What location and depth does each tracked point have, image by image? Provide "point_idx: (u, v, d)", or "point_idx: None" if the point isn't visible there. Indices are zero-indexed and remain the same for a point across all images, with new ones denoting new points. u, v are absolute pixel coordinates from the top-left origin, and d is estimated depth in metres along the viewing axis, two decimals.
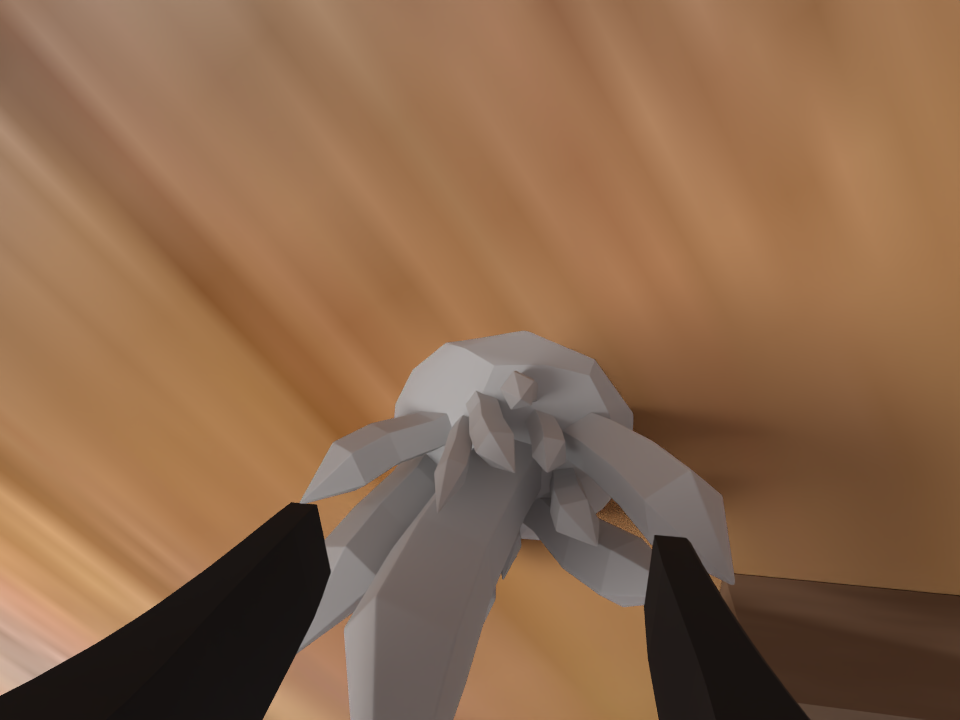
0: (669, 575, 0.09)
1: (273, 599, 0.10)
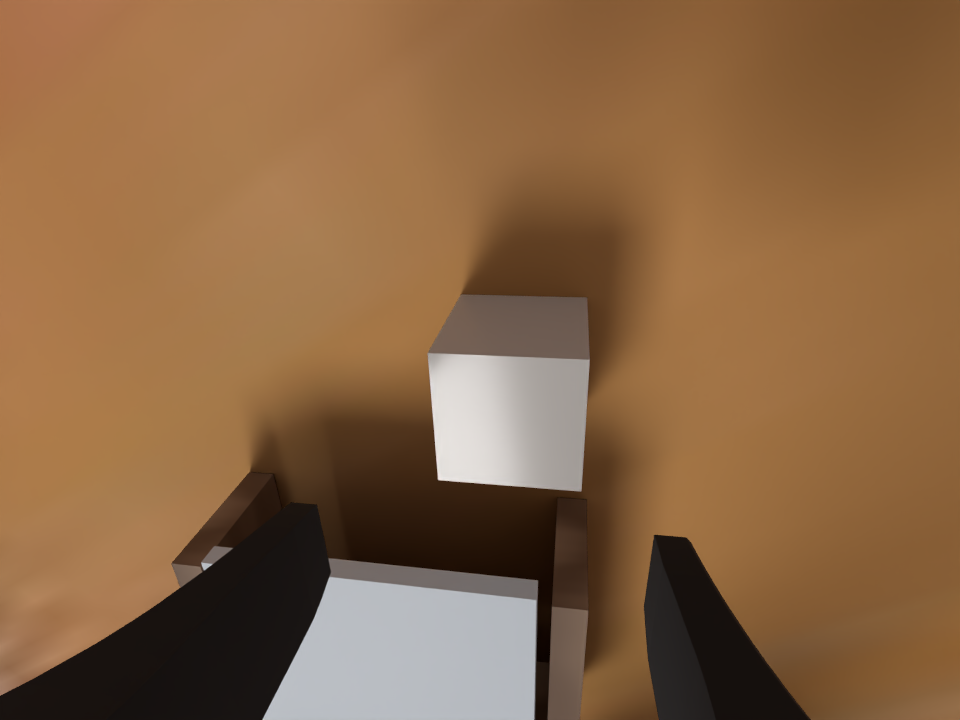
0: (669, 575, 0.09)
1: (273, 599, 0.10)
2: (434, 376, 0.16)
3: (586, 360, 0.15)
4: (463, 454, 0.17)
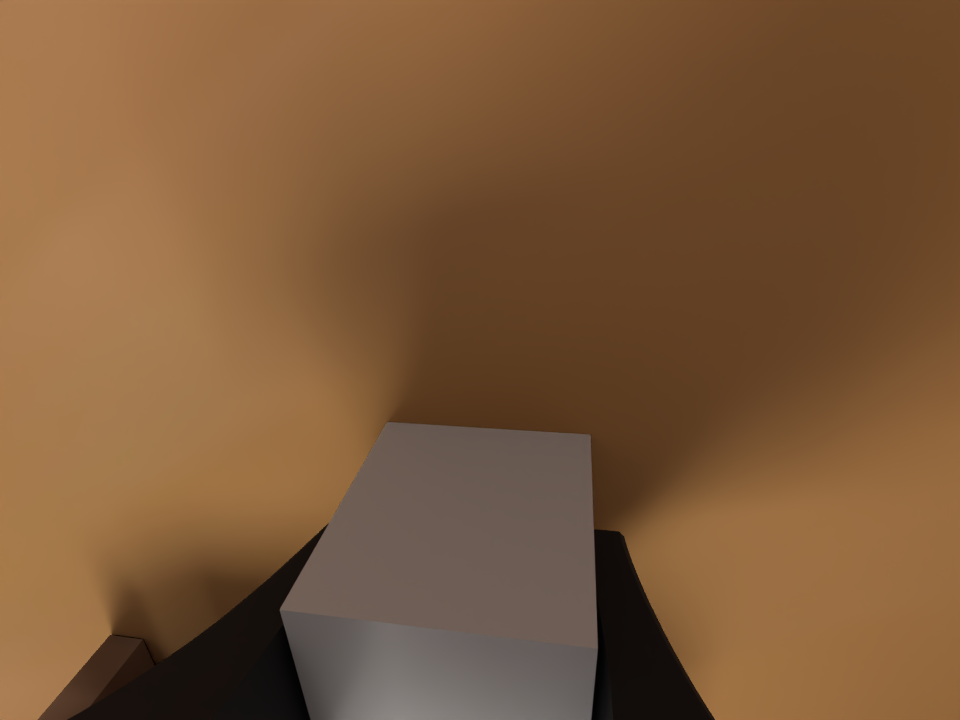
0: None
1: None
2: (297, 646, 0.08)
3: (591, 649, 0.07)
4: None
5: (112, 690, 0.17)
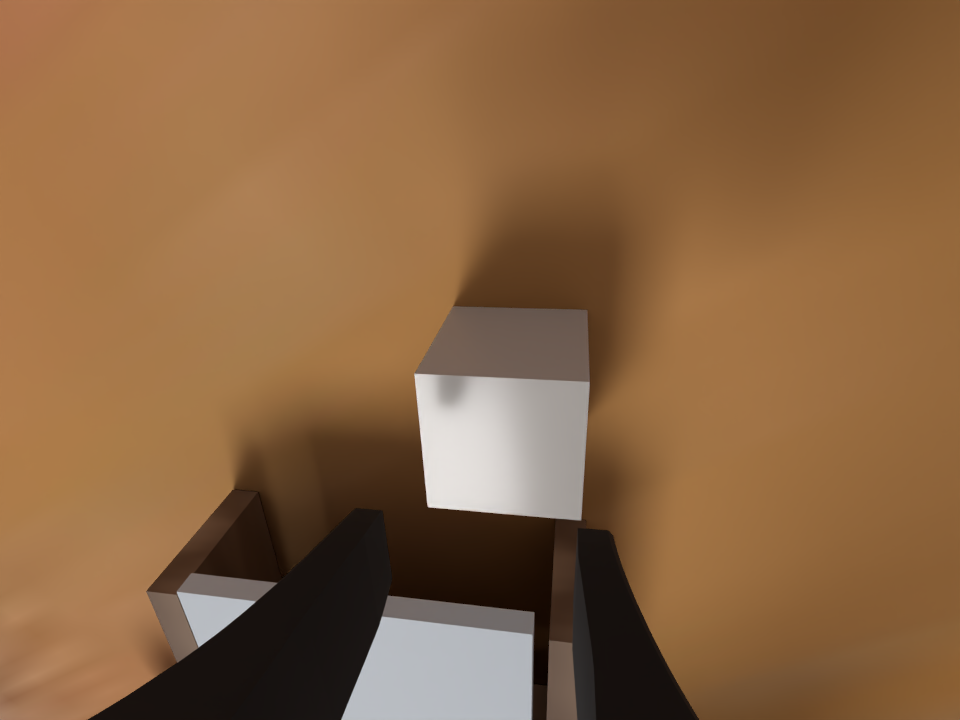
0: (582, 566, 0.10)
1: (347, 608, 0.10)
2: (422, 398, 0.15)
3: (586, 382, 0.14)
4: (454, 480, 0.16)
5: (241, 521, 0.23)
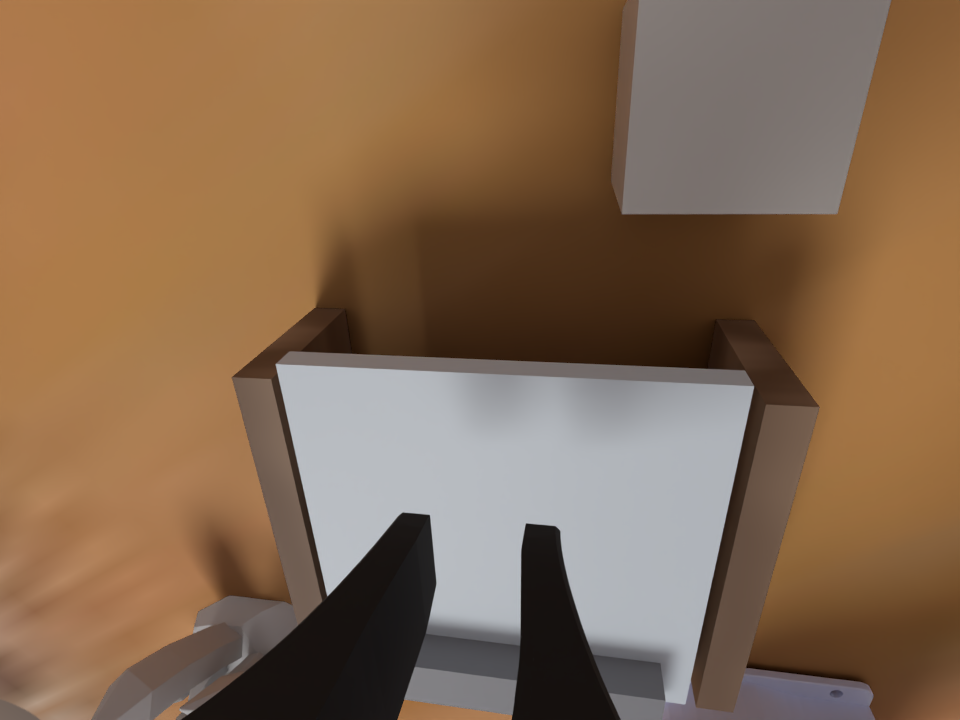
0: (523, 561, 0.10)
1: (401, 614, 0.10)
2: (645, 20, 0.11)
3: None
4: (667, 164, 0.12)
5: (330, 333, 0.19)
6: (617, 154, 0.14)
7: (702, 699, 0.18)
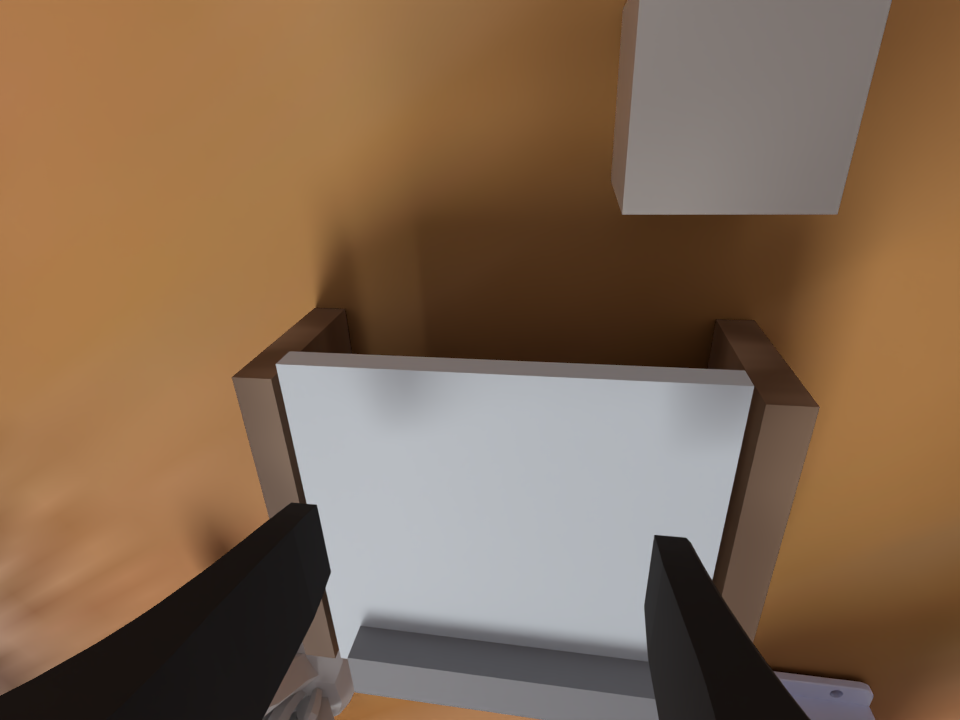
0: (669, 575, 0.09)
1: (273, 599, 0.10)
2: (645, 20, 0.11)
3: None
4: (667, 164, 0.12)
5: (330, 333, 0.19)
6: (617, 154, 0.14)
7: None
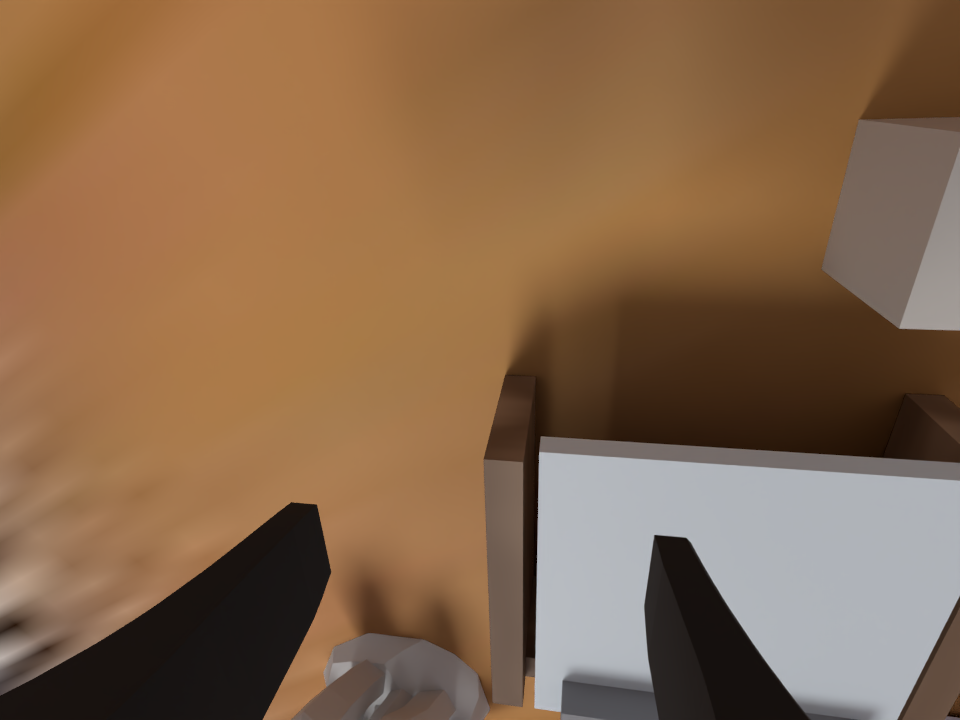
0: (669, 575, 0.09)
1: (273, 599, 0.10)
2: None
3: None
4: (953, 288, 0.13)
5: (533, 403, 0.20)
6: (858, 257, 0.16)
7: None
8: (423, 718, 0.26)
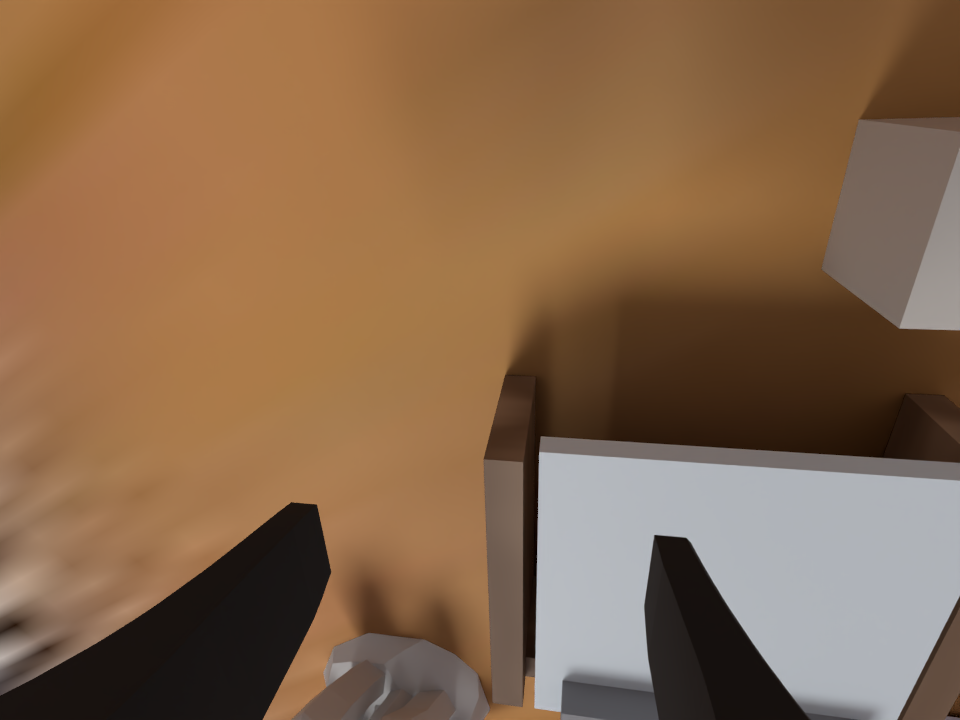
0: (669, 575, 0.09)
1: (273, 599, 0.10)
2: None
3: None
4: (954, 288, 0.13)
5: (533, 403, 0.20)
6: (858, 257, 0.16)
7: None
8: (423, 718, 0.26)
